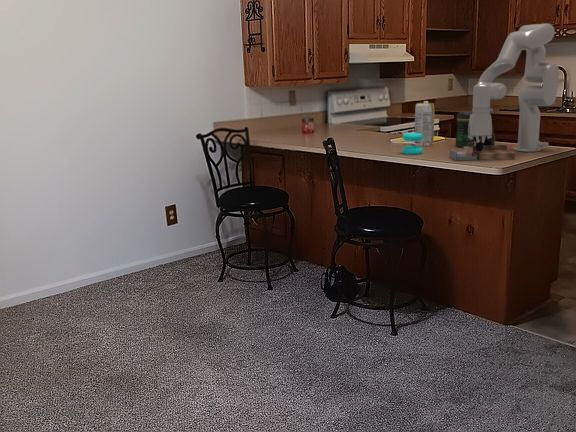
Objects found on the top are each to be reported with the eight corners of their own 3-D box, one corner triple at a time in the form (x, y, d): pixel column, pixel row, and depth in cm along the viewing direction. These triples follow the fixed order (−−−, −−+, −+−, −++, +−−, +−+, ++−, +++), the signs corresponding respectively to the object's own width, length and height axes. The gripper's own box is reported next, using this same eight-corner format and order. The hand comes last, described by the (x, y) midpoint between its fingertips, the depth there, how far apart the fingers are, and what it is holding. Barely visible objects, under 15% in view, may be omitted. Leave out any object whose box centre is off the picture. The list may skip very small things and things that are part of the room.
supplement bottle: (477, 152, 291) (478, 128, 288) (483, 151, 296) (485, 127, 293) (490, 154, 286) (491, 129, 283) (496, 152, 291) (498, 128, 288)
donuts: (411, 132, 301) (426, 133, 294) (411, 151, 304) (426, 153, 296) (398, 134, 296) (413, 135, 288) (398, 153, 298) (412, 155, 290)
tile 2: (469, 146, 277) (463, 146, 278) (472, 147, 273) (466, 148, 273) (468, 156, 279) (463, 156, 279) (471, 158, 274) (466, 158, 274)
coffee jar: (464, 148, 307) (465, 112, 302) (452, 146, 314) (454, 111, 309) (477, 146, 312) (478, 111, 307) (465, 144, 318) (467, 110, 313)
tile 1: (452, 152, 278) (452, 157, 279) (455, 153, 273) (455, 159, 274) (463, 151, 278) (463, 157, 278) (466, 153, 273) (465, 158, 274)
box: (470, 156, 282) (470, 148, 281) (477, 160, 270) (477, 151, 269) (449, 157, 282) (449, 148, 281) (455, 161, 271) (456, 152, 270)
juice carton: (434, 144, 323) (435, 100, 316) (429, 146, 316) (430, 101, 310) (418, 144, 328) (419, 100, 322) (413, 146, 321) (413, 101, 315)
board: (505, 155, 281) (506, 144, 280) (514, 159, 270) (515, 148, 268) (472, 156, 282) (472, 146, 281) (479, 160, 270) (479, 149, 269)
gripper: (494, 110, 274) (492, 149, 278) (462, 111, 274) (461, 150, 279) (499, 111, 266) (497, 151, 271) (466, 112, 267) (465, 152, 272)
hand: (479, 150), depth 275 cm, fingers closed
